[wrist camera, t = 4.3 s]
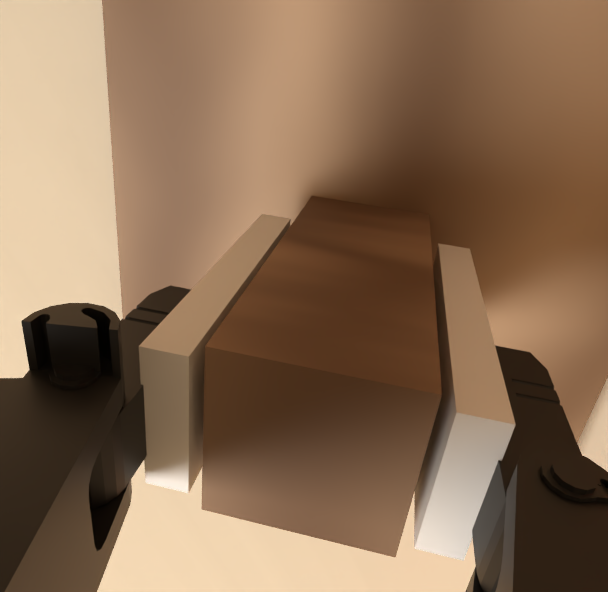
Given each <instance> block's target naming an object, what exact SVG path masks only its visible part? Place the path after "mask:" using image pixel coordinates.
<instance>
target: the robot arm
mask: <svg viewBox="0 0 608 592" xmlns="http://www.w3.org/2000/svg"><path fill="white" fill-rule="evenodd" d="M290 221H291V219H289V218H284V217H278V216H272V215H266V214H262V215H261V216H260V217H259V218H258V219H257V220H256V221H255V222H254V223H253V224H252V225H251V226H250V227H249V228H248V230H247V231H246V232H245V233H244V234H243V235H242V236H241V237H240V238H239V239H238V240H237V241H236V242H235V243H234V245H233V246H232V247H231V248H230V249H229V250H228V251H227V252H226V253H225V254H224V255H223V256H222V257H221V258H220V260H219V261H218V262H217V263H216V264H215V265H214V266H213V267H212V268H211V269H210V270H209V271H208V272H207V274H206V275H205V276H204V277H203V278H202V279H201V280H200V281H199V282H198V283H197V284H196V285H195V286H194V287H193V289H186V288H181V287H176V286H171V285H170V286H168V287H165V288H163V289H161V290H158V291H156V292H153V293H151V294H149V295H148V296H147V297H146V298H145V299H144V300H143V301H142V302H141V303H139V304H138V305H137V306H136V309H133V310H132V311H131V312H130V313H129V314H128V315H126V316H125V319H122V320H121V321H120V320H119V318H118V316H117V315H116V313H115V312H113V311H111V310H110V309H108V308H106V307H104V306H99V305H94V304H89V303H68V304H62V305H56V306H50V307H48V308H45V309H42V310H39V311H37V312H34V313H32V314H31V315H29V316H28V317H27V318H25V319H24V320H22V327H23V333H24V339H25V345H26V351H27V357H28V363H29V368H30V370H29V371H28V373H27V374H26V375H25V376H24V377H23V378H0V592H97V590H98V587H99V585H100V582H101V579H102V577H103V574H104V571H105V569H106V566H107V564H108V561H109V558H110V556H111V553H112V550H113V548H114V545H115V543H116V540H117V537H118V535H119V532H120V529H121V527H122V524H123V522H124V519H125V516H126V514H127V511H128V508H129V506H130V502H131V494H132V487H131V478H132V477H133V475H134V474H135V472H136V471H137V469H138V468H139V466H140V465H141V463H142V462H143V460H145V480H146V483H148V484H152V485H156V486H160V487H164V488H169V489H173V490H177V491H181V492H185V493H189V491H190V489H191V487H192V485H193V484H194V482H195V480H196V478H197V476H198V474H199V472H200V470H201V468H202V466H203V420H204V371H205V346H206V344H207V343H208V341H209V340H210V339H211V337H212V336H213V334H214V333H215V332H216V330H217V329H218V327H219V326H220V325H221V323H222V322H223V320H224V319H225V317H226V316H227V315H228V313H229V312H230V310H231V309H232V308H233V306H234V305H235V303H236V302H237V301H238V299H239V298H240V296H241V295H242V294H243V292H244V291H245V289H246V288H247V286H248V285H249V284H250V282H251V281H252V279H253V278H254V277H255V275H256V274H257V272H258V271H259V270H260V268H261V267H262V265H263V264H264V263H265V261H266V260H267V258H268V257H269V256H270V254H271V253H272V251H273V250H274V248H275V247H276V246H277V244H278V243H279V241H280V240H281V239H282V237H283V236H284V234H285V233H286V232H287V230H288V229H289V227H290ZM433 275H434V289H435V303H436V317H437V331H438V345H439V359H440V373H441V388H442V397H441V400H440V404H439V407H438V411H437V414H436V418H435V421H434V425H433V428H432V432H431V435H430V439H429V442H428V446H427V449H426V452H425V456H424V459H423V463H422V466H421V470H420V473H419V477H418V480H417V484H416V487H415V526H414V549H418V550H422V551H426V552H430V553H434V554H438V555H442V556H446V557H450V558H454V559H458V560H462V561H464V558H465V556H466V553H467V551H468V548H469V545H470V543H471V540H472V538H473V544H474V553H475V562H476V567H475V570H474V572H473V575H472V577H471V580H470V582H469V585H468V587H467V590H466V592H608V472H607V471H606V470H604V469H603V468H601V467H600V466H599V465H597V464H596V463H594V462H593V461H591V460H590V459H588V458H586V457H584V456H582V454H581V452H580V449H579V447H578V444H577V442H576V439H575V437H574V434H573V432H572V429H571V427H570V425H569V422H568V420H567V417H566V415H565V412H564V410H563V407H562V406H561V405H560V400H559V397H558V395H557V392H556V390H554V385H553V382H552V380H551V377H550V375H549V372H548V370H547V369H546V368H545V367H544V366H543V365H542V364H541V363H540V362H539V361H538V360H537V359H536V358H535V357H534V356H533V355H532V354H531V353H530V352H527V351H522V350H516V349H511V348H506V347H501V346H495V343H494V340H493V336H492V332H491V328H490V324H489V320H488V317H487V313H486V309H485V305H484V301H483V297H482V294H481V290H480V286H479V282H478V278H477V274H476V270H475V267H474V263H473V259H472V255H471V251H470V249H469V248H463V247H457V246H451V245H445V244H439V243H438V247H437V251H436V256H435V260H434V264H433Z"/></svg>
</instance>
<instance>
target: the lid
mask: <svg viewBox="0 0 608 592" xmlns="http://www.w3.org/2000/svg"><path fill="white" fill-rule="evenodd" d="M102 5H103V20H104V36H105V51H106V66H107V82H108V97H109V112H110V128H111V143H112V159H113V174H114V189H115V205H116V220H117V235H118V251H119V266H120V281H121V297H122V312H123V319H125V316H126V315H128V314H129V313H130V312H131V311H132V310H133V309H136V306H137V305H138V304H139V303H141V302H142V301H143V300H144V299H145V298H146V297H147V296H148V295H149V294H151V293H153V292H156V291H158V290H161V289H163V288H165V287H168V286H170V285H171V286H176V287H181V288H186V289H193V287H194V286H195V285H196V284H197V283H198V282H199V281H200V280H201V279H202V278H203V277H204V276H205V275H206V274H207V272H208V271H209V270H210V269H211V268H212V267H213V266H214V265H215V264H216V263H217V262H218V261H219V260H220V258H221V257H222V256H223V255H224V254H225V253H226V252H227V251H228V250H229V249H230V248H231V247H232V246H233V245H234V243H235V242H236V241H237V240H238V239H239V238H240V237H241V236H242V235H243V234H244V233H245V232H246V231H247V230H248V228H249V227H250V226H251V225H252V224H253V223H254V222H255V221H256V220H257V219H258V218H259V217H260V216H261V215H262V214H266V215H272V216H278V217H284V218H289V219H291V221H290V227H289V229H288V230H287V232H286V233H285V234H284V236H283V237H282V239H281V240H280V241H279V243H278V244H277V246H276V247H275V248H274V250H273V251H272V253H271V254H270V256H269V257H268V258H267V260H266V261H265V263H264V264H263V265H262V267H261V268H260V270H259V271H258V272H257V274H256V275H255V277H254V278H253V279H252V281H251V282H250V284H249V285H248V286H247V288H246V289H245V291H244V292H243V294H242V295H241V296H240V298H239V299H238V301H237V302H236V303H235V305H234V306H233V308H232V309H231V310H230V312H229V313H228V315H227V316H226V317H225V319H224V320H223V322H222V323H221V325H220V326H219V327H218V329H217V330H216V332H215V333H214V334H213V336H212V337H211V339H210V340H209V341H208V343H207V344H206V346H205V371H204V420H203V469H202V509H203V510H207V511H211V512H215V513H219V514H223V515H227V516H231V517H235V518H239V519H243V520H247V521H251V522H255V523H259V524H263V525H267V526H271V527H275V528H279V529H283V530H287V531H291V532H295V533H299V534H303V535H307V536H311V537H315V538H319V539H323V540H328V541H332V542H336V543H340V544H344V545H348V546H352V547H356V548H360V549H364V550H368V551H372V552H376V553H380V554H384V555H388V556H392V557H396V553H397V550H398V546H399V543H400V539H401V536H402V533H403V529H404V526H405V522H406V519H407V515H408V512H409V508H410V505H411V501H412V498H413V494H414V491H415V487H416V484H417V480H418V477H419V473H420V470H421V466H422V463H423V459H424V456H425V452H426V449H427V446H428V442H429V439H430V435H431V432H432V428H433V425H434V421H435V418H436V414H437V411H438V407H439V404H440V400H441V397H442V388H441V373H440V359H439V345H438V331H437V317H436V303H435V289H434V275H433V264H434V260H435V256H436V251H437V247H438V243H439V244H445V245H451V246H457V247H463V248H469V249H470V251H471V255H472V259H473V263H474V267H475V270H476V274H477V278H478V282H479V286H480V290H481V294H482V297H483V301H484V305H485V309H486V313H487V317H488V320H489V324H490V328H491V332H492V336H493V340H494V343H495V346H501V347H506V348H511V349H516V350H522V351H527V352H530V353H531V354H532V355H533V356H534V357H535V358H536V359H537V360H538V361H539V362H540V363H541V364H542V365H543V366H544V367H545V368H546V369H547V370H548V372H549V375H550V377H551V380H552V382H553V385H554V390H556V392H557V395H558V397H559V400H560V405H561V406H562V407H563V410H564V412H565V415H566V417H567V420H568V422H569V425H570V427H571V429H572V432H573V434H574V437H575V439H576V442H577V441H578V439H579V437H580V435H581V433H582V431H583V428H584V426H585V424H586V422H587V420H588V418H589V416H590V413H591V411H592V409H593V407H594V405H595V403H596V400H597V398H598V396H599V394H600V392H601V390H602V387H603V385H604V383H605V381H606V379H607V377H608V0H102Z"/></svg>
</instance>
